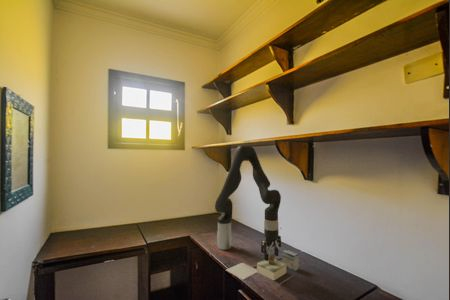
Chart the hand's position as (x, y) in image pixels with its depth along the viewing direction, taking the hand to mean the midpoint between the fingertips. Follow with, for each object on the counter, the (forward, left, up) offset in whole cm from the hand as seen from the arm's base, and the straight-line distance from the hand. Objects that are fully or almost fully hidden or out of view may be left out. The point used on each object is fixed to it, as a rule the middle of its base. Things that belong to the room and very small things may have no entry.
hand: (271, 258), depth 124 cm
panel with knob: (-12, -10, -8) cm, 18 cm away
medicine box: (+3, +13, -9) cm, 16 cm away
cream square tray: (0, 0, -8) cm, 8 cm away
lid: (0, 0, -4) cm, 4 cm away
